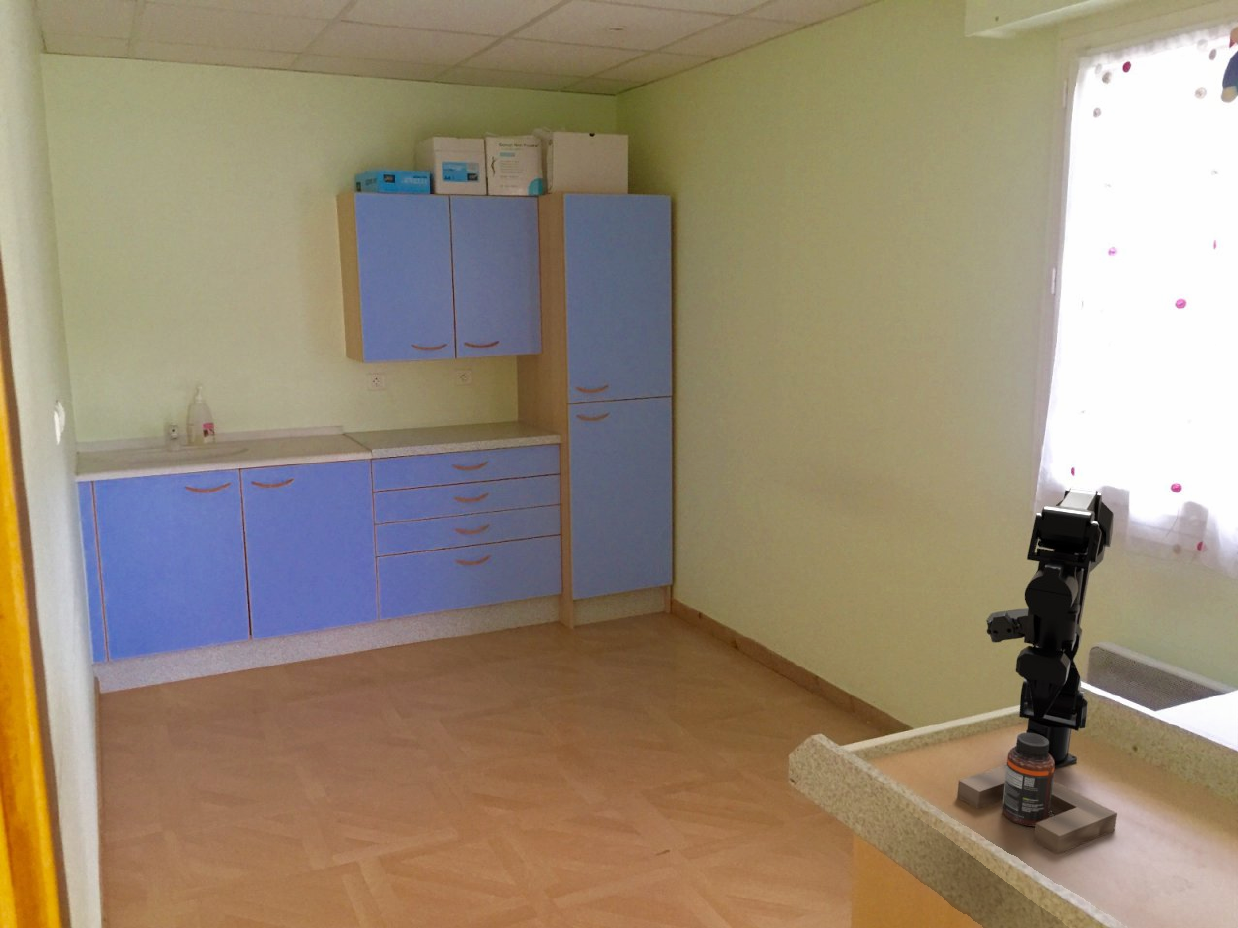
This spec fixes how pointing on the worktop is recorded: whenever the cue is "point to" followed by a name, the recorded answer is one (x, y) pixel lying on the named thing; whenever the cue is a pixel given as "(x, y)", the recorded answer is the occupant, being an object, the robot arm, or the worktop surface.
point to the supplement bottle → (1028, 780)
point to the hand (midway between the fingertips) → (1043, 705)
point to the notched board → (1072, 810)
